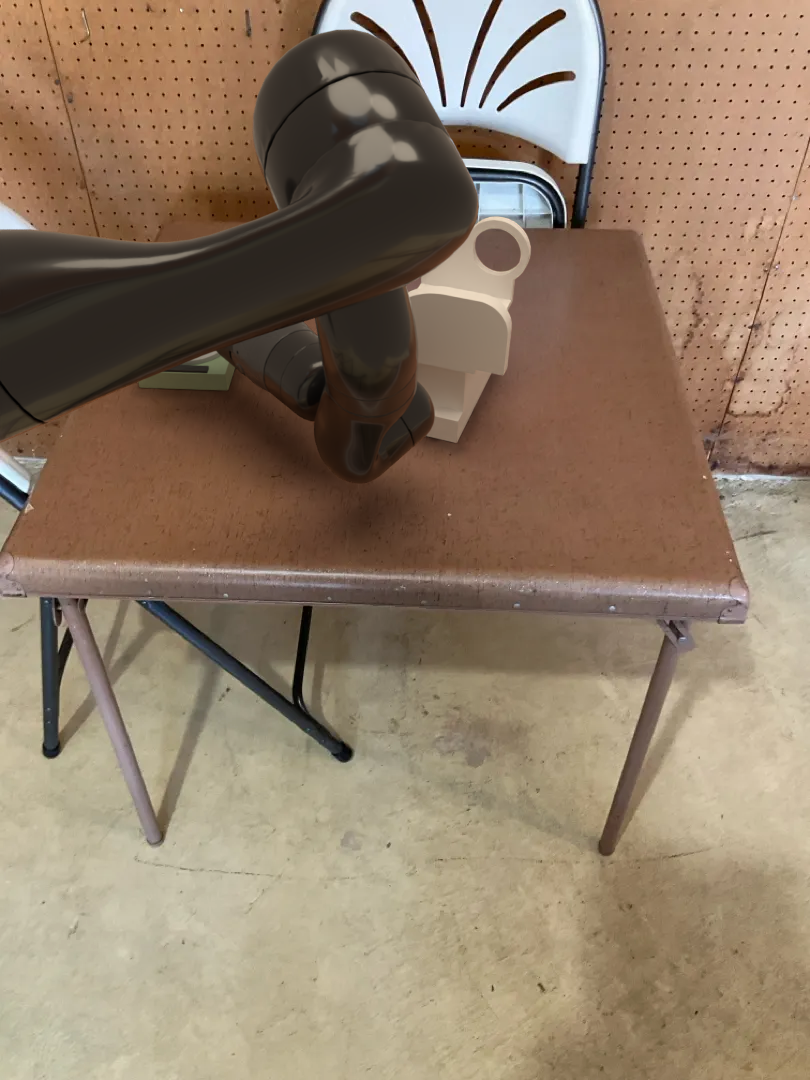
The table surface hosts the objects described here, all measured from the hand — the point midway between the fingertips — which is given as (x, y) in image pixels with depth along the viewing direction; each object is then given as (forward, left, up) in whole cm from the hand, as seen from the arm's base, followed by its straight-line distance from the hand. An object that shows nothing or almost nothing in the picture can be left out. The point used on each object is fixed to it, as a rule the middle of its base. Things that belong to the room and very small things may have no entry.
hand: (182, 278), depth 90 cm
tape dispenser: (+22, -21, -11) cm, 32 cm away
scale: (0, +1, -11) cm, 11 cm away
